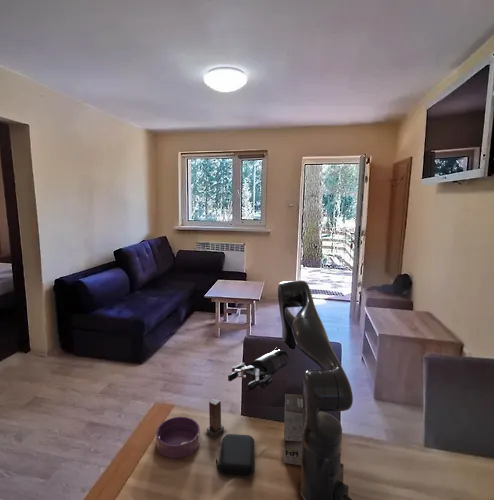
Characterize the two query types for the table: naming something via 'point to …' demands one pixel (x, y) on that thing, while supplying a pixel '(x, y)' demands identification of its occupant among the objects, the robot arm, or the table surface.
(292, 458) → the coffee box
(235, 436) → the carrying case
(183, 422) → the bowl
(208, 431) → the brown wooden block
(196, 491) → the table surface
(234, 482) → the table surface
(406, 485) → the table surface
